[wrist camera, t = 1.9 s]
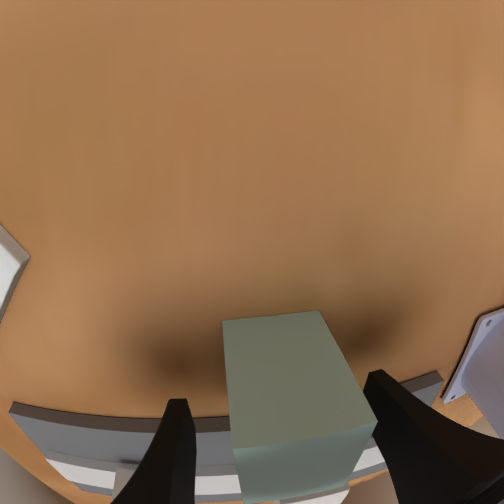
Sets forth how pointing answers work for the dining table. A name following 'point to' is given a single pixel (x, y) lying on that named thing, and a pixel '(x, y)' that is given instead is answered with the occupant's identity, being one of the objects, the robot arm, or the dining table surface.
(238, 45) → the dining table surface
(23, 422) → the rail board
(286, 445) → the block
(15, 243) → the external hard drive
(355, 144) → the dining table surface
